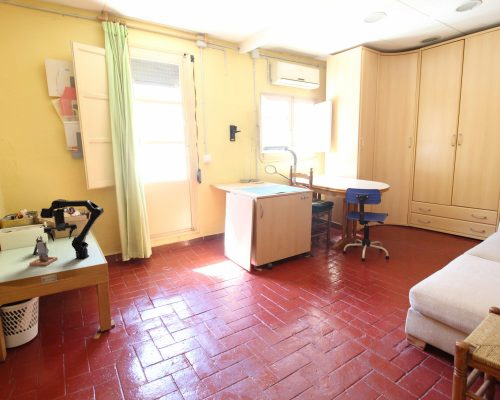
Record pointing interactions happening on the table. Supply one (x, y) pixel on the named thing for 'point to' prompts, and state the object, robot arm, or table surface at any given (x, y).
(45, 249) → the canister
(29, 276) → the table surface
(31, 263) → the tray
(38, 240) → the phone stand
